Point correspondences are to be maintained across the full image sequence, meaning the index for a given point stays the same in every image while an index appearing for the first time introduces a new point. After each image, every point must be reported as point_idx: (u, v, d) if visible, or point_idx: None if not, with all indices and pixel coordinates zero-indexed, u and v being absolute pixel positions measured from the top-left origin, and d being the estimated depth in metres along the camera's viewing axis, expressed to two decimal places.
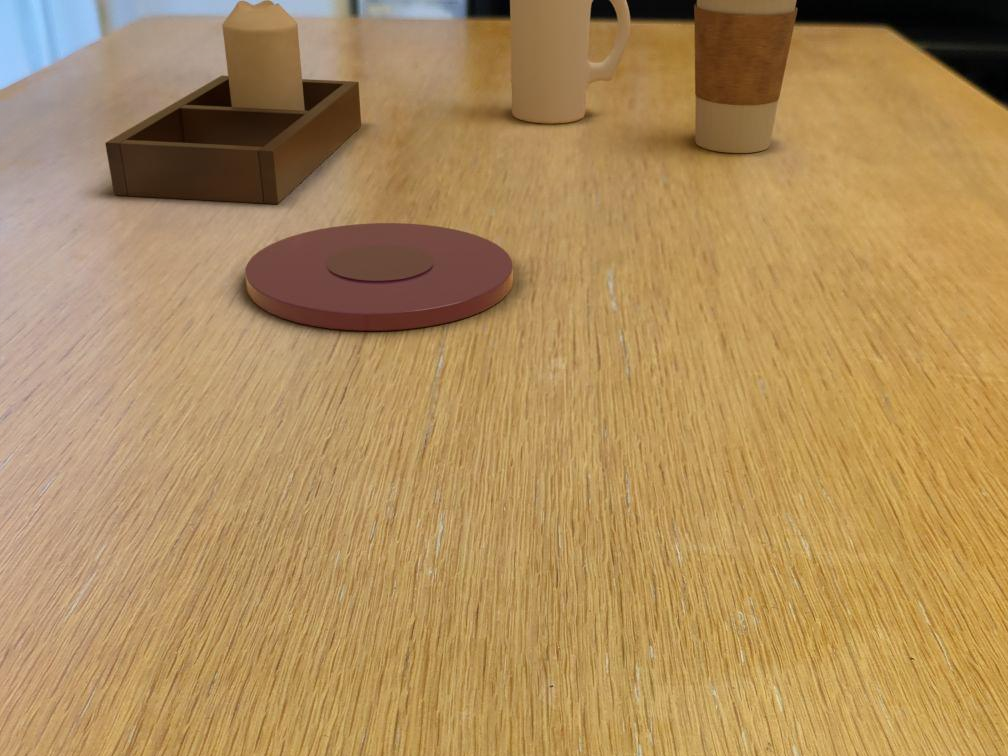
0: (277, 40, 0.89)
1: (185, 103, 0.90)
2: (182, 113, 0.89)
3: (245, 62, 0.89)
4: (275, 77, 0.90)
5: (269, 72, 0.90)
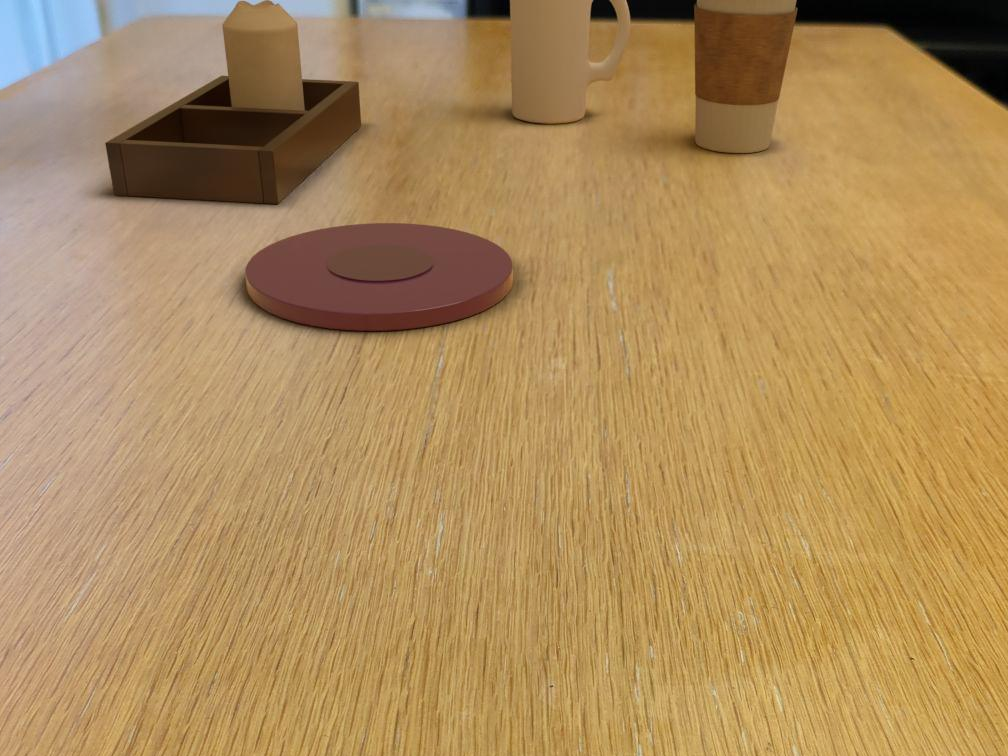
0: (277, 40, 0.89)
1: (185, 103, 0.90)
2: (182, 113, 0.89)
3: (245, 62, 0.89)
4: (275, 77, 0.90)
5: (269, 72, 0.90)
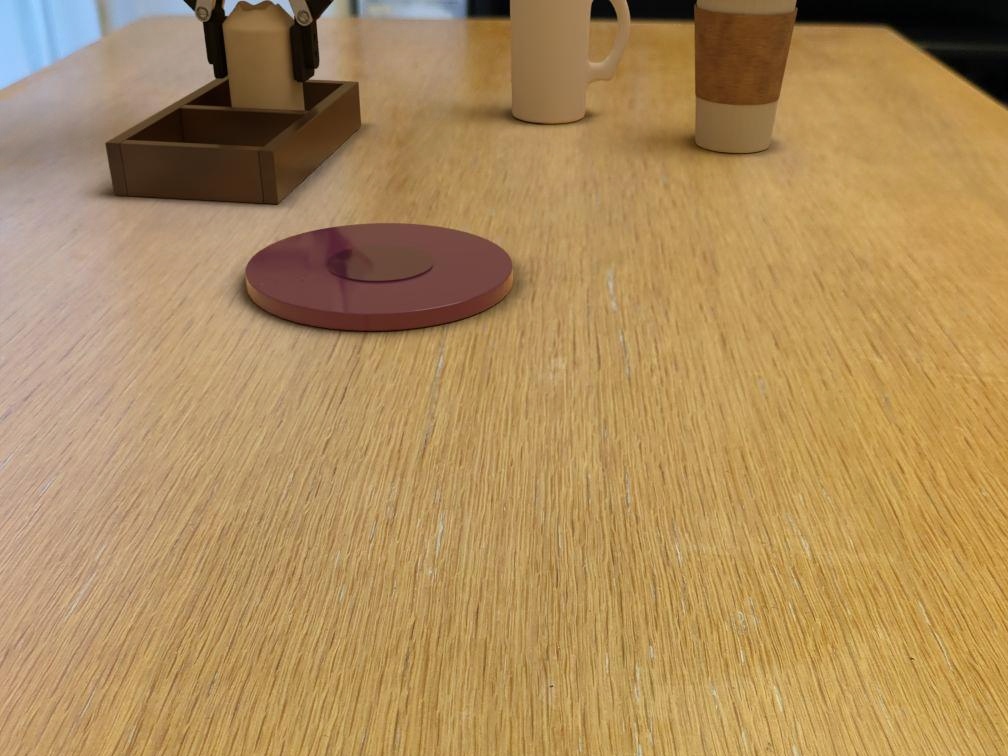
0: (277, 40, 0.89)
1: (185, 103, 0.90)
2: (182, 113, 0.89)
3: (245, 62, 0.89)
4: (275, 77, 0.90)
5: (269, 72, 0.90)
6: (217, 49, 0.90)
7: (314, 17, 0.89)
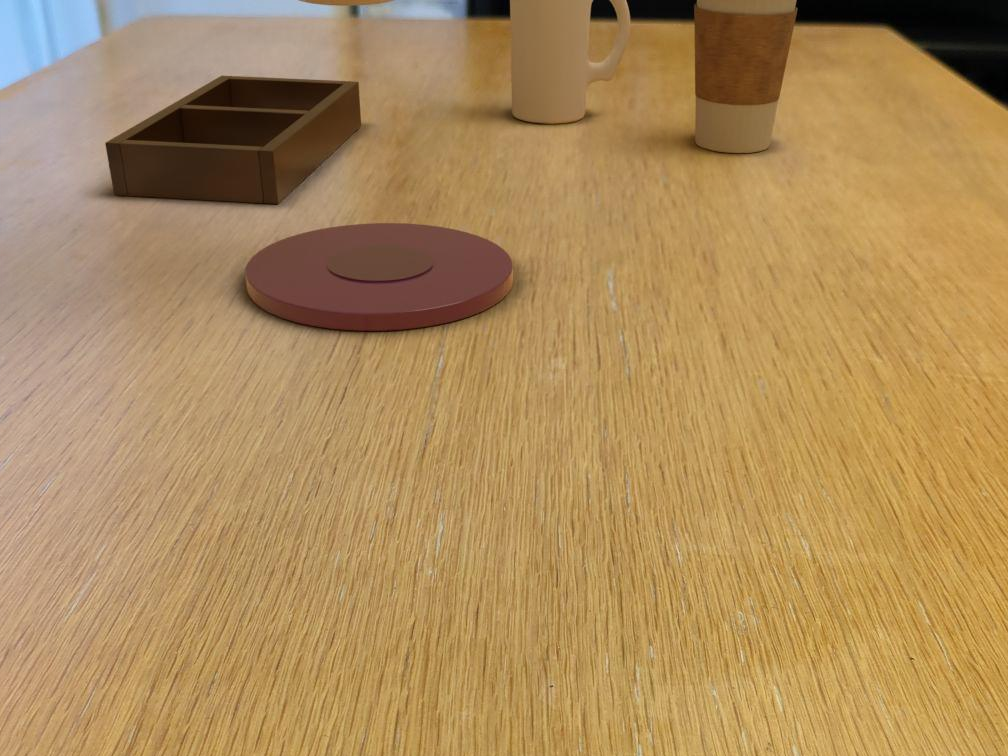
0: None
1: (185, 103, 0.90)
2: (182, 113, 0.89)
3: None
4: None
5: None
6: None
7: None
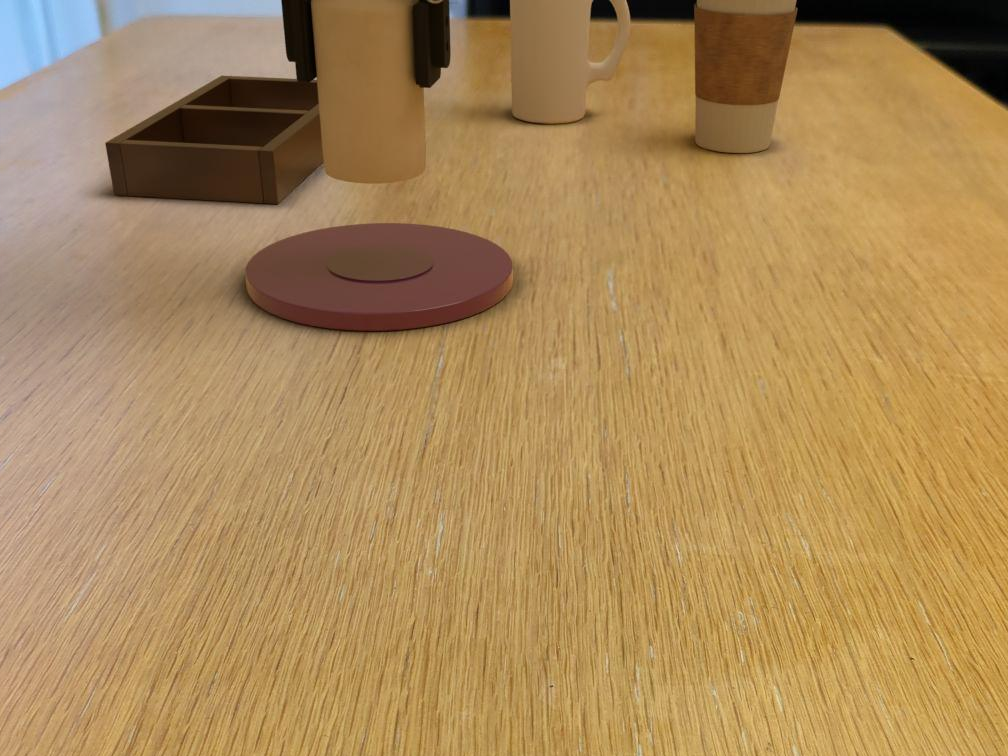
0: (393, 25, 0.60)
1: (185, 103, 0.90)
2: (182, 113, 0.89)
3: (346, 57, 0.60)
4: (389, 80, 0.61)
5: (381, 72, 0.60)
6: (302, 39, 0.61)
7: None
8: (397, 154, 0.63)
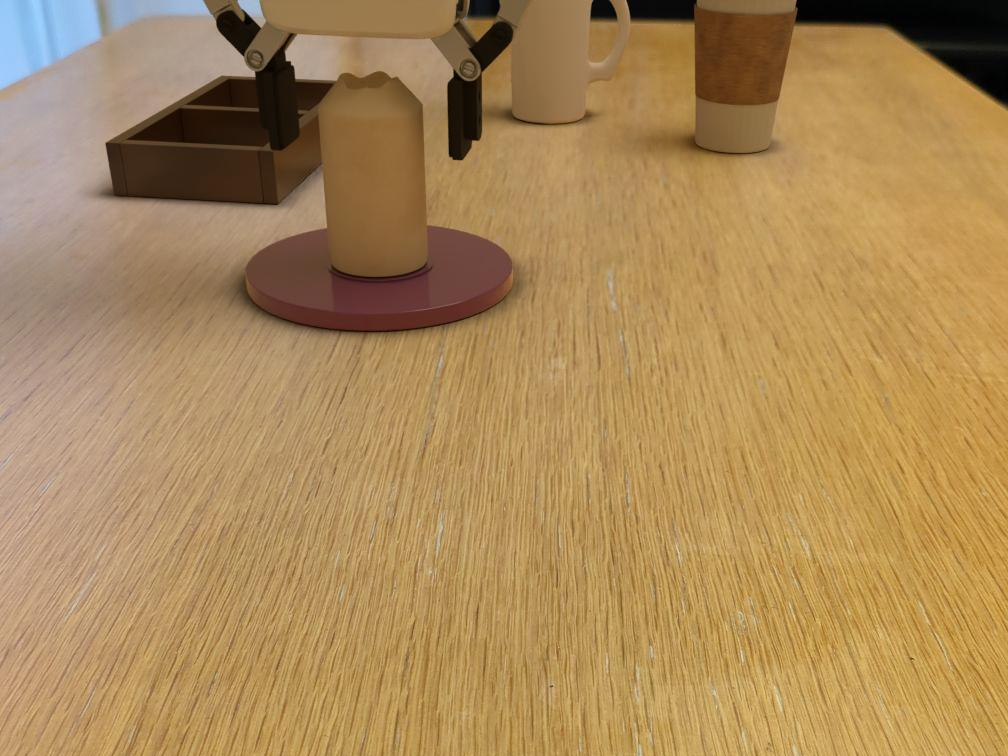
0: (397, 131, 0.62)
1: (185, 103, 0.90)
2: (182, 113, 0.89)
3: (352, 161, 0.63)
4: (392, 181, 0.64)
5: (385, 174, 0.63)
6: (275, 110, 0.63)
7: (483, 64, 0.61)
8: (400, 249, 0.66)
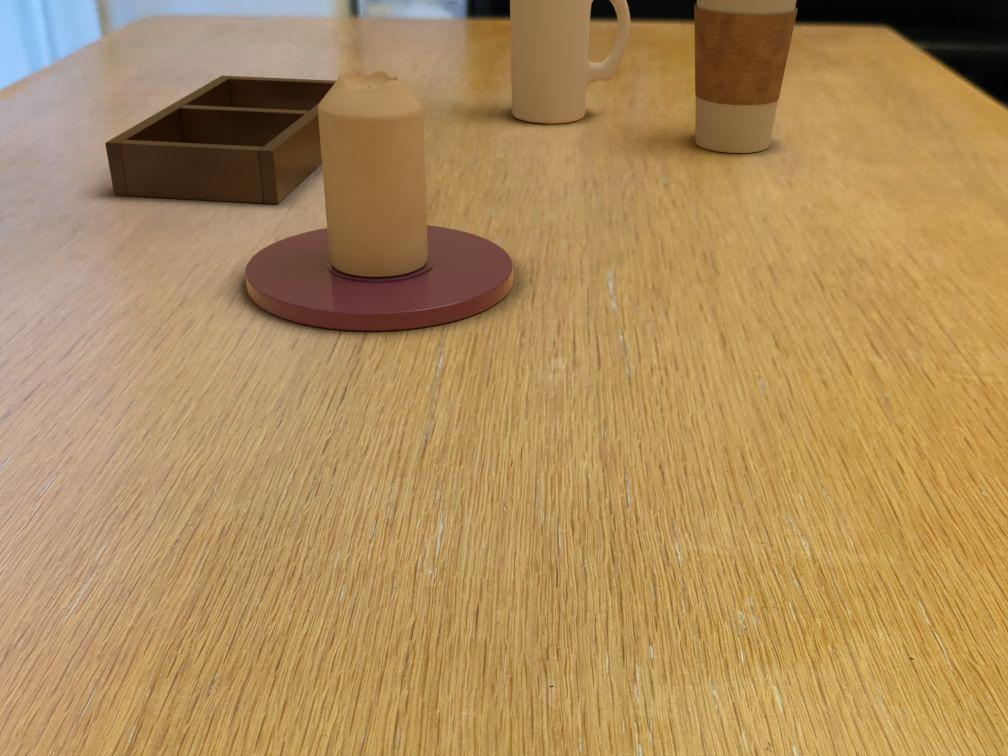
0: (397, 131, 0.62)
1: (185, 103, 0.90)
2: (182, 113, 0.89)
3: (352, 161, 0.63)
4: (392, 181, 0.64)
5: (385, 174, 0.63)
6: None
7: None
8: (400, 249, 0.66)
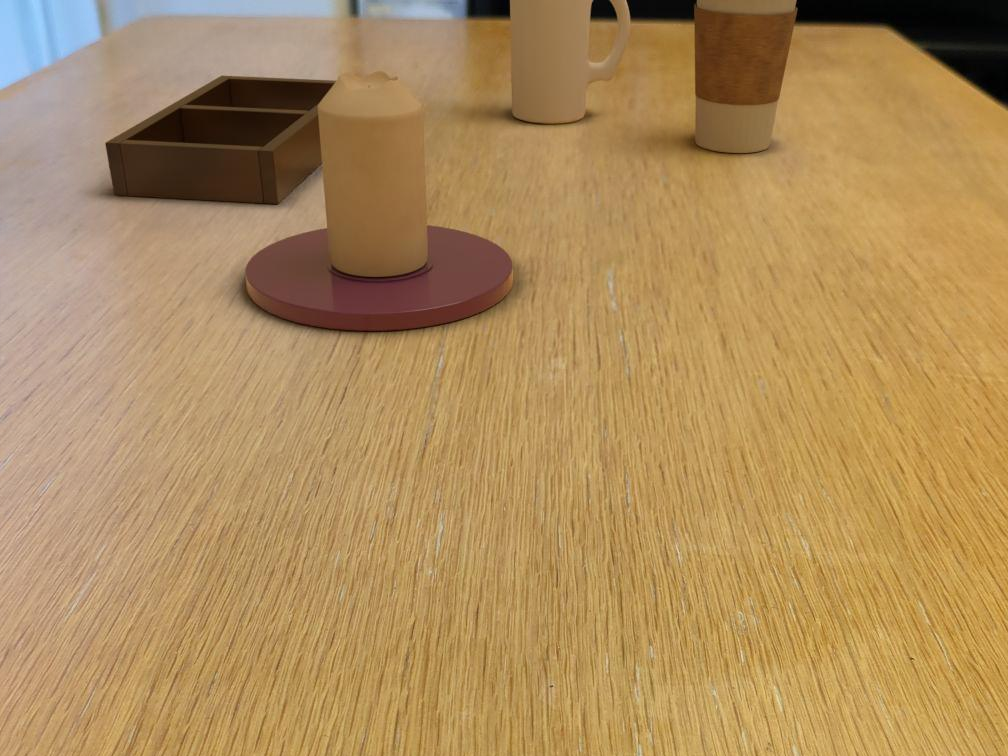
0: (397, 131, 0.62)
1: (185, 103, 0.90)
2: (182, 113, 0.89)
3: (352, 161, 0.63)
4: (392, 181, 0.64)
5: (385, 174, 0.63)
6: None
7: None
8: (400, 249, 0.66)
